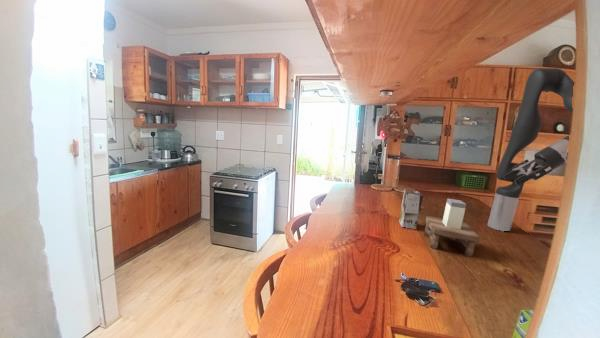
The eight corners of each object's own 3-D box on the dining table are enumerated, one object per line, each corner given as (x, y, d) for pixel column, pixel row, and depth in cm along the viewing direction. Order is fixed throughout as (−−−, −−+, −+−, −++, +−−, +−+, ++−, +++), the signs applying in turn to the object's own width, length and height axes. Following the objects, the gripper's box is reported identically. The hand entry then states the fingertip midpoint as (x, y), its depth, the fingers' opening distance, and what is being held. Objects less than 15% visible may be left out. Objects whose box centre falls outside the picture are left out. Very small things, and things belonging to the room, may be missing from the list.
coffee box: (416, 230, 115) (423, 195, 112) (401, 227, 116) (408, 193, 114) (412, 223, 124) (418, 190, 121) (398, 220, 125) (404, 188, 122)
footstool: (422, 233, 113) (426, 215, 111) (460, 240, 109) (465, 222, 108) (430, 248, 98) (434, 228, 97) (474, 257, 95) (479, 237, 93)
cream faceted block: (442, 221, 106) (447, 198, 104) (455, 224, 105) (461, 200, 103) (446, 226, 100) (451, 202, 99) (460, 229, 99) (466, 204, 97)
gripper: (537, 144, 99) (495, 169, 104) (563, 147, 85) (513, 176, 90) (550, 160, 99) (507, 184, 104) (578, 166, 85) (527, 193, 90)
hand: (510, 180), depth 97 cm, fingers open, 8 cm apart
